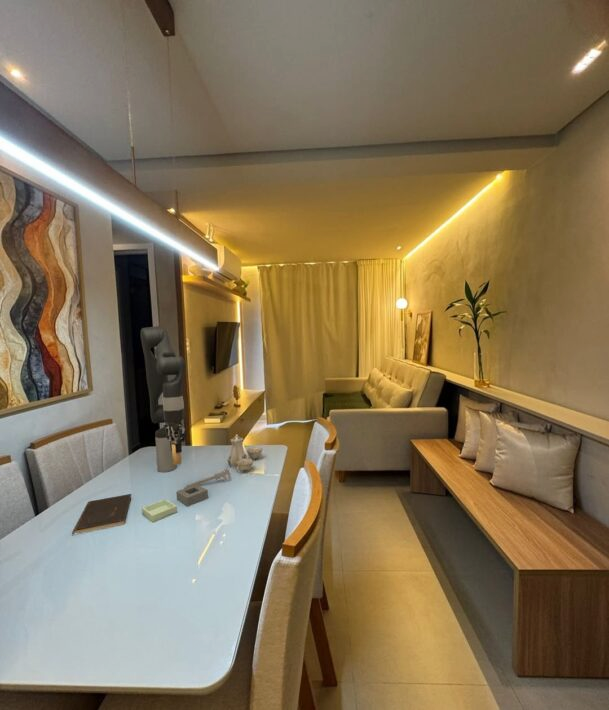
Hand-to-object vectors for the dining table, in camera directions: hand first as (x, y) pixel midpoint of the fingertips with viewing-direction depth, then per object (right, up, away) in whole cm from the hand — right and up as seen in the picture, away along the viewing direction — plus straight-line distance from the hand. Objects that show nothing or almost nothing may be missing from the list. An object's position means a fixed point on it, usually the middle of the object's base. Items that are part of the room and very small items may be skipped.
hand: (176, 451), depth 135 cm
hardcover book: (-26, -24, -4) cm, 35 cm away
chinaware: (+19, -19, +42) cm, 50 cm away
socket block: (+4, -21, +6) cm, 22 cm away
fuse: (0, -5, 0) cm, 5 cm away
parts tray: (-5, -22, -5) cm, 23 cm away
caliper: (+7, -21, +20) cm, 30 cm away
